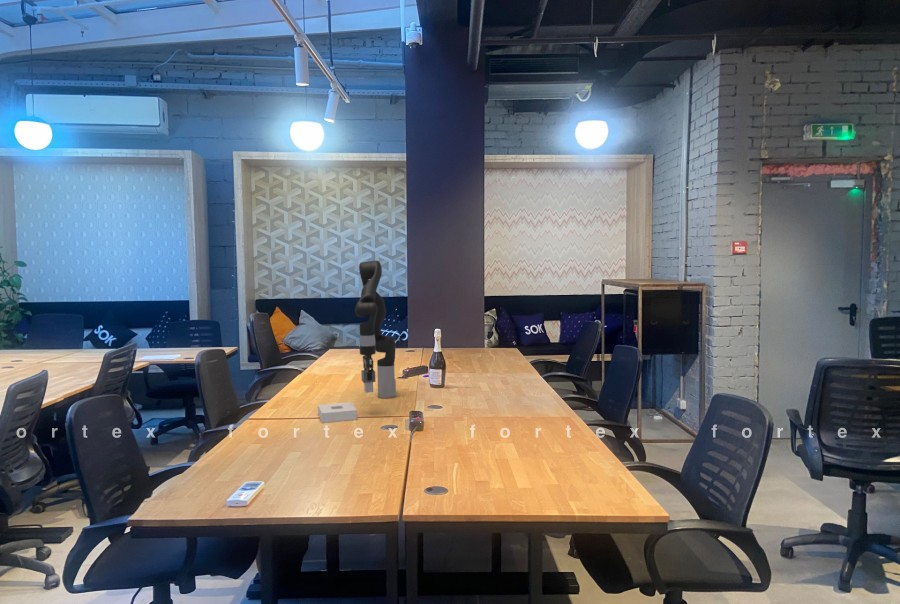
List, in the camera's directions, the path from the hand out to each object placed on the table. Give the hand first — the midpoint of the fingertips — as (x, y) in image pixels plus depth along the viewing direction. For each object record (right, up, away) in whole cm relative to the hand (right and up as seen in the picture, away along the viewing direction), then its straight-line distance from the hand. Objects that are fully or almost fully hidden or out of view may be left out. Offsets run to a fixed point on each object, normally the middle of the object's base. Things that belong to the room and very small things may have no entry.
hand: (368, 379), depth 282 cm
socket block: (-14, -17, -4) cm, 23 cm away
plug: (0, -6, 0) cm, 6 cm away
